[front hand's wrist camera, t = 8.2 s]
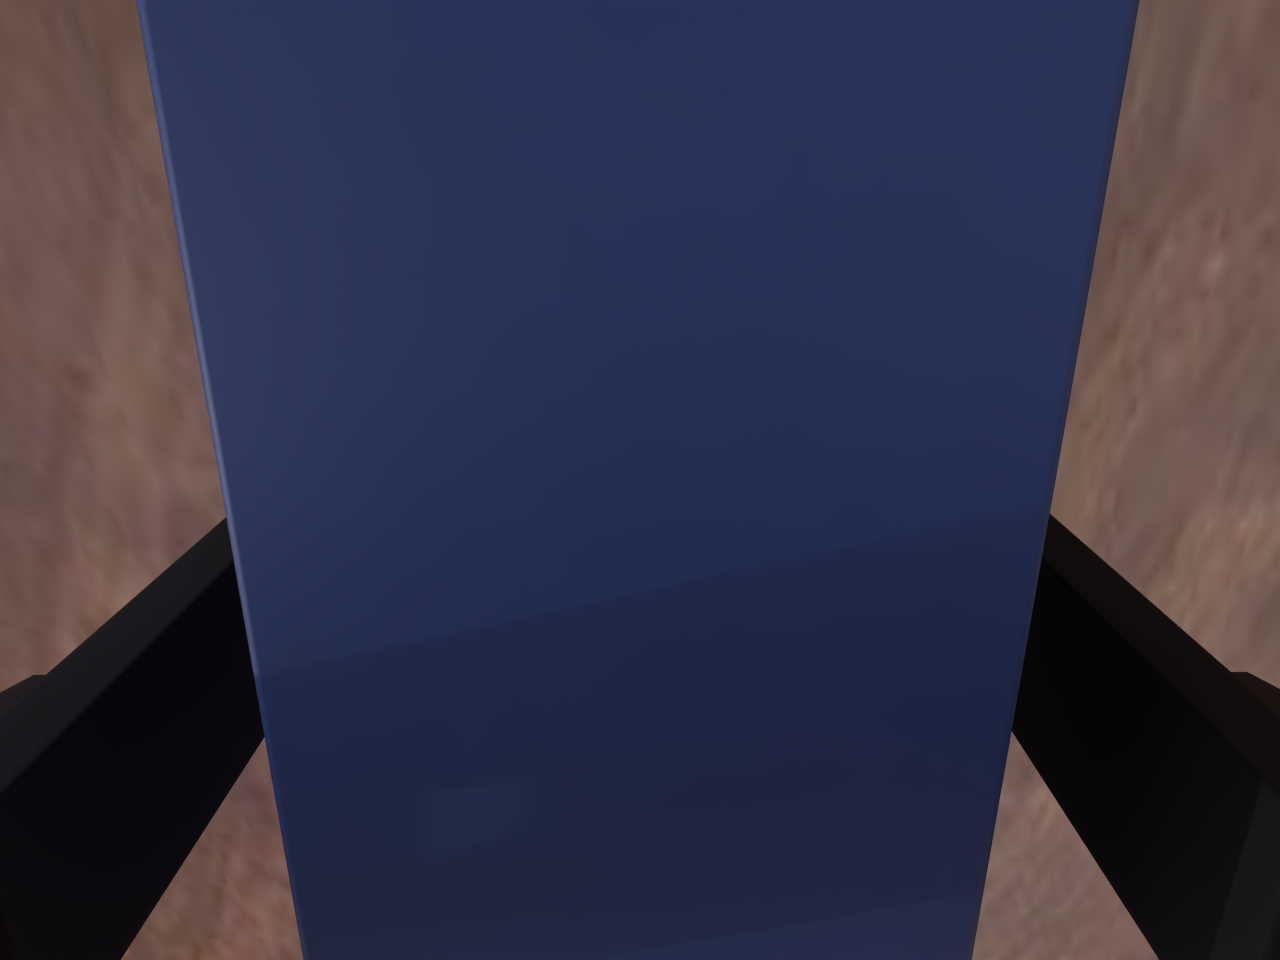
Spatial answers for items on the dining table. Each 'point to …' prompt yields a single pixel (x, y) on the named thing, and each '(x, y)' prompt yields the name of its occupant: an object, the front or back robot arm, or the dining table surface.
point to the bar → (637, 447)
